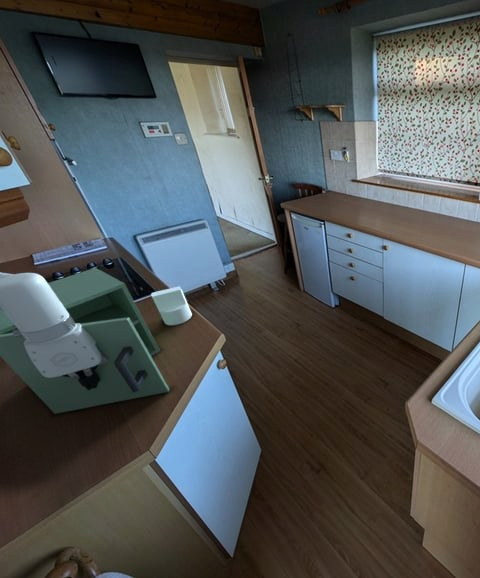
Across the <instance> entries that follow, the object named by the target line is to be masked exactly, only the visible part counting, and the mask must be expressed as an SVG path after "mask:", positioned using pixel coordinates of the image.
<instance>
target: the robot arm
mask: <svg viewBox="0 0 480 578" xmlns="http://www.w3.org/2000/svg"><path fill="white" fill-rule="evenodd" d="M48 283H49V282H48V281H47V280H46V279H45V278H44V277H43V276H42V275H40V274H39V273H35V272H22V273H21V272H20V273H16V274H15V273H7V272H0V311H1V310H3V312H4V313H5V314H6V315H7V316H8V317H9V319H10V320H11V321H12V322H13V323H14V325H15V326H16V327H17V328H18V330H16V331H13V335H14V336H15V337H18V336H23V337H24V338H25V339H26V340H25V342H24V346H25V348H26V351H27V353H28V355H29V357H30V359H31V360H32V362H33V363H34V365H35V366H36V368H37V369H38V371H39V372H40V373H41V374H42V375H43V376H44V377H46V378H53V377H60V376H64V377H70V378H72V379H73V380H78V381H79V382H80V384H81V385H82V386H83V387H84V386H85V388H86V389H87V390H91V389H92V388H93V389H94V388H97V385H98V382H100V377H99V376H98V374H97V373H96V372H95V370H96V368H97V367H98V366H99V365H102V364H104V363H106V362H108V359H109V357H108V356H106V355H105V354H104V353H103V352H102V351H100V350H99V349H98V348H97V347H96V345H95V344H96V341H95V340H94V339H93V337H92V336H91V335H90V334H89V333H88V332H87V331H86V330H85V329H84V328H83V327H82V326H81V324H80V323H75V322H74V320H73V319H72V317H71V316H70V314H69V313H68V312H67V310H66V309H65V307H64V306H63V305H62V303H61V302H60V300H59V299H58V297H57V296H56V295H55V293H54V292H53V290H52V289H51V287H50V286H49V285H48ZM83 370H84V371H83Z"/></svg>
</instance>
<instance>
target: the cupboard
mask: <svg viewBox="0 0 480 578" xmlns="http://www.w3.org/2000/svg"><path fill="white" fill-rule="evenodd" d="M47 283H48V285H49V286H50V287H51V289H52V290H53V292H54V293H55V295H56V296H57V297H58V299H59V300H60V302H61V303H62V305H63V306H64V307H65V309H66V310H67V312H68V313H69V314H70V316H71V317H72V319H73V320H74V322H75V323H80V324H83V323H90V322H98V321H105V320H113V319H120V318H127V317H129V318H130V320H131V322H132V324H133V325H134V327H135V329H136V331H137V332H138V334H139V336H140V338H141V339H142V341H143V343H144V345H145V347H146V348H147V350H148V352H149V354H150V355H151V357H153V356H155V355H157V354H158V353H160V352H161V349H160V348H159V345H158V344H157V342H156V340H155V338H154V336H153V335H152V332H151V330H150V329H149V327H148V325H147V324H146V323H147V322H146V321H145V319H144V317H143V315H142V314H141V311H140V310H139V308H138V307H137V305H136V303H135V301H134V299H133V297H132V295H131V293H130V291H129V289H128V288H127V285H126V284H125V282H123V281H120V280H119V279H117V278H115V277H113V276H112V275H110V274H109V273H106V272H104V271H103V270H100V269H98V267H94V268H89V269H87V270H84V271H80V272H78V273H75V274H72V275H69V276H66V277H63V278H59V279H57V280H53V281H50V282H47ZM16 330H18V328H17V327H16V326H15V325H14V323H13V322H12V321H11V320H10V319H9V317H8V316H7V315H6V314H5V313H4V312H3V310H1V311H0V335H2V334H9V333H13V331H16Z"/></svg>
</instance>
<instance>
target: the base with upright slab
mask: <svg viewBox="0 0 480 578" xmlns="http://www.w3.org/2000/svg"><path fill="white" fill-rule="evenodd" d="M150 296H151V298H152V301H153V303H154V304H155V306H156V308H157V311H158V312H159V314H160V317H161V319H162V321H163V323H164V324H165V325H166V326H177V325H180V324H184V323H185V322H186V323H187V321H189V320H190V319H191V318H192V316H193V313H192V310H191V309H190V306H189V303H188V301H187V298H186V296H185V294H184V292H183V289H182V286H180V285H179V286H174V287H171V288H166V289H162V290H158V291H154V292H151V294H150Z"/></svg>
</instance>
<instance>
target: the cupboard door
mask: <svg viewBox="0 0 480 578" xmlns="http://www.w3.org/2000/svg"><path fill="white" fill-rule="evenodd" d="M81 326H82V327H83V328H84V329H85V330H86V331H87V332H88V333H89V334H90V335H91V336H92V337H93V339H94V340H95V341H96V344H95V345H96V347H97V348H98V349H99V350H100V351H102V352H103V353H104V354H105V355H106V356H108V357H109V359H108V362H106V363H104V364H102V365H99V366H98V367H97V368H96V370H95V372H96V373H97V374H98V376H99V377H100V382H98V385H97V388H94V389H93V388H92V389H91V390H87V389H86V388H85V386H84V387H83V386H82V385H81V384H80V382H79V381H78V380H73V379H72V378H70V377H64V376H60V377H53V378H46V377H44V376H43V375H42V374H41V373H40V372H39V371H38V369H37V368H36V366H35V365H34V363H33V362H32V360H31V359H30V357H29V355H28V353H27V351H26V348H25V346H24V342H25V340H26V339H25V338H24V337H23V336H18V337H15V336H14V335H13V333H9V334H2V335H0V357H1V359H2V360H4V362H5V363H6V364H7V365H8V366H9V367H10V369H12V370H13V372H15V373H16V375H17V376H18V377H20V379H21V380H22V381H23V382H24V383H25V384H26V385H27V386H28V387H29V388H30V389H31V390H32V392H33V393H34V394H36V396H37V397H38V398H39V399H40V400H41V401H42V402H43V403H44V404H45V405H46V407H48V408H49V409H50V411H51V412H52V413H53V414H54V415H56V414H61V413H67V412H71V411H77V410H82V409H86V408H92V407H97V406H103V405H107V404H112V403H117V402H123V401H128V400H132V399H138V398H142V397H148V396H149V397H150V396H153V395H159V394H163V393H168V392H169V391H170V387H169V386H168V384H167V381H165V379H164V377H163V375H162V374H161V372H160V370H159V368H158V366H157V364H156V363H155V361H154V359H153V356H151V355H150V354H149V352H148V350H147V348H146V347H145V345H144V343H143V341H142V339H141V338H140V336H139V334H138V332H137V331H136V329H135V327H134V325H133V324H132V322H131V320H130V318H129V317H127V318H120V319H113V320H105V321H98V322H90V323H83V324H81ZM83 371H84V370H83Z"/></svg>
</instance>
